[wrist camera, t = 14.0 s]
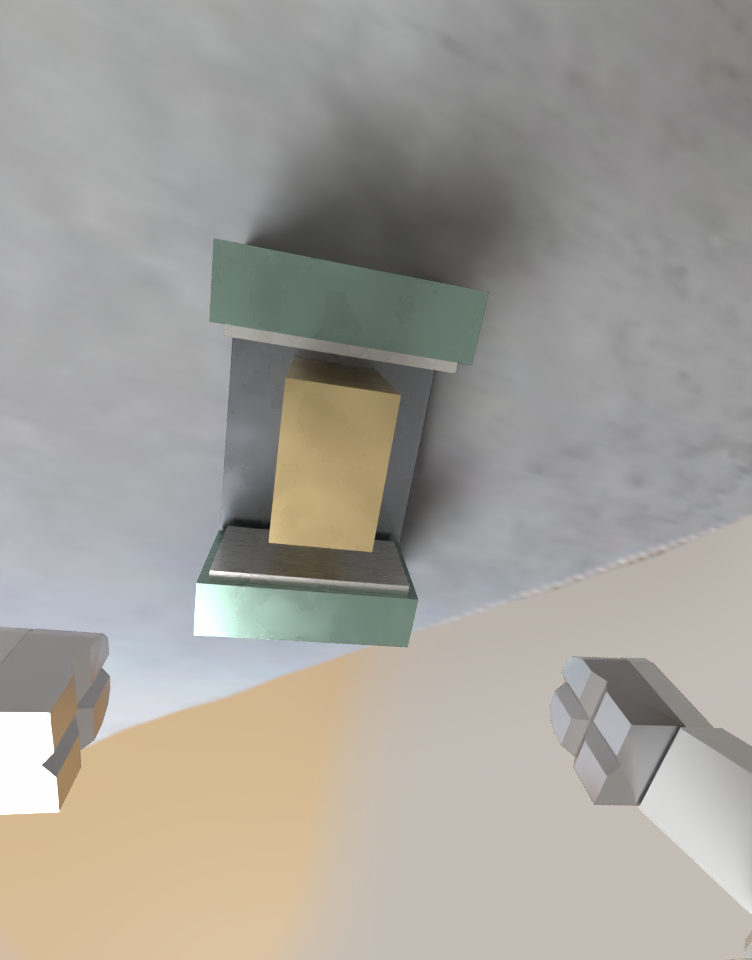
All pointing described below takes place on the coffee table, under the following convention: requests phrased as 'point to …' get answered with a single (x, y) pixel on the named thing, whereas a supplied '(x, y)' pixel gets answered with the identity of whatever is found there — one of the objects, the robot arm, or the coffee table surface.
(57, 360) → the coffee table surface
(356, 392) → the brass block
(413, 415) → the vise
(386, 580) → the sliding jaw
